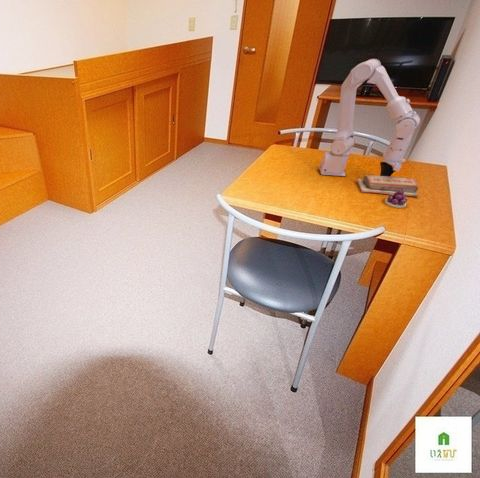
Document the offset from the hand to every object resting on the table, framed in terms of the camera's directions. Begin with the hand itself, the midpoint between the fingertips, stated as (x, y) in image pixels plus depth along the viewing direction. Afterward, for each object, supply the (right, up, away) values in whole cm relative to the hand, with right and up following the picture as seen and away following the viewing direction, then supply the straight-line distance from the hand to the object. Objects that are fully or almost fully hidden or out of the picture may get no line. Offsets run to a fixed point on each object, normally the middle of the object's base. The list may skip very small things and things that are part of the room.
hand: (382, 180), depth 130 cm
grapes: (-6, -11, -12) cm, 18 cm away
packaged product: (-2, -4, -3) cm, 6 cm away
